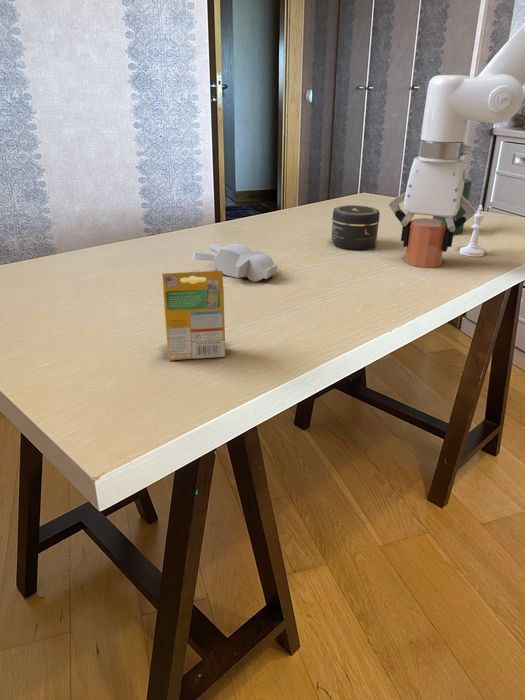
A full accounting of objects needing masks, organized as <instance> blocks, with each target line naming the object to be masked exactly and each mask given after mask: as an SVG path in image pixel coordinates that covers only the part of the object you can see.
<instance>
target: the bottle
mask: <svg viewBox="0 0 525 700" xmlns="http://www.w3.org/2000/svg"><path fill="white" fill-rule="evenodd" d="M465 164H466V161H465ZM472 183H473V180H471V179H470V178H465V180H464V188H463V196H464V198H465V199H466V200H467V201H468V202H469V199H470V194H471V188H472V185H473V184H472ZM465 213H466V211H465V210H464V209H463V208H462V207H460V210H459V211H458V213H457V214H456V215H455V216H454V217H455V220H457V219H458V218H460V217H461V216H463V215H464V214H465ZM432 219H437V220H442V221H445V222H446V219H445V217H440V216H432ZM464 227H465V223H464V224H463V225H461V226H460V227H458V228H457V229H456V230H455V231H454V235H453V236H458V235H459V236H460V235H462V234H463V231H464ZM447 228H448V226H447Z"/></svg>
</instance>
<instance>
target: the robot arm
mask: <svg viewBox="0 0 525 700" xmlns="http://www.w3.org/2000/svg"><path fill="white" fill-rule="evenodd" d="M524 85H525V22H523V23H522V25H520V27H519V28H518V29H517V30H516V31H515V32H514V33H513V35H512V36H511V37H510V38H509V39H508V40H507V41H506V43H504V45H503V46H502V47H501V48H500V49H499V50H498V52H496V54H495V55H494V56H493V57H492V58H491V59H490V61H489V62H488V63H487V64H486V66H484V68H483V69H482V71H481V72H480V73H479V74H478V75H477V76H472V77H471V76H469V75H464V74H462V75H461V74H438V75H434V76H432V77H431V79H430V80H429V82H428V85H427V89H426V90H427V91H426V96H425V97H426V98H425V105H424V112H423V119H422V126H421V133H420V140H419V148H418V155H417V156H415V157H414V159H413V161H412V165H411V168H410V171H409V175H408V179H407V184H406V189H405V191H404V192H403V193H401V194H399V195H398V196H397V197H396V198H394V199H393V200H391V201H390V202H389V203H388V207H389V208H390V210H391V211H392V212H393V214H394V216H395V218H396V219H397V220H398V221H399V223H400V225H401V226H402V229H401V235H400V241H401V242H403V243H402V247H403V248H407V243H408V236H409V229H410V224H411V220H413V219H414V216H415V215H422V216H430V217H431V216H432V217H433V216H440V217H445V219H446V223H447V226H448V228H447V230H446V231H445V236H444V242H443V248H442V251H443V253H446V252H447V250H448V248H452V246H453V240H454V236H455V235H454V231H455V230H456V229H457V228H458V227H460V226H461V225H463V224H464V225H465V223H466V222H467V221H469V220H470V219H471V218H473V217H474V215H475V214H477V210H476V208H474V206H473V205H472V204H471V203H470V202H469V200H468V201H467V200H466V199H465V198H464V196H463V188H464V180H465V179H466V163H465V162H466V160H464V159H462V157H463V156H466V155H471V153H472V146H471V145H470V146H469V145H466V143H465V138H466V131H467V127H468V121H476V122H481V123H482V122H483V123H488V124H500V123H503V122H506V121H509V120H510V119H511V118H513V117H514V116H515V115H516V114H517V113H518V112H519V110H520V109H521V107H522V105H523V102H524V97H525V93H524V88H523V86H524ZM402 202H403V210H404V211H405V212H407V213H405V212H404V211H403V210H402V208H401V207H400V204H401V203H402ZM460 207H462V208H463V209H464V210H465V211H466V213H465V214H464V215H463V216H461V217H460V218H458V219H457V220H455V217H454V216H455V215H456V214H457V213H458V211H459V210H460Z"/></svg>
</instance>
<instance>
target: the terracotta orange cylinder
mask: <svg viewBox="0 0 525 700" xmlns="http://www.w3.org/2000/svg"><path fill="white" fill-rule="evenodd" d="M410 221H411V224H410V229H409V236H408V243H407V246H406V251H405V257H404V262H405V263H406V264H407V265H410V266H413V267H416V268H423V269H424V268H425V269H430V268H431V269H433V268H434V269H435V268H438V267H441V265H442V261H443V260H442V259H443V255H444V252H443V251H442V248H443V242H444V236H445V231H446V230H447V223H446V222H445V221H442V220H437V219H433V218H429V217H420V218H412V219H411V220H410Z"/></svg>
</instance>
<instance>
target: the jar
mask: <svg viewBox="0 0 525 700" xmlns="http://www.w3.org/2000/svg"><path fill="white" fill-rule="evenodd" d="M380 214H381V212H380V210H379V209H377V208H375V207H372V206H366V205H355V204H354V205H353V204H352V205H351V204H350V205H340V206H337V207H334V208H333V211H332V216H331V217H332V218H331V220H332V224H331V240H332V243H333V246H335V247H337V248H338V249H342V250H348V251H366V250H369V249H371V248H373V247H374V246H375V244H376V242H377V239H378V233H379V231H378V230H379V223H380V217H381V215H380Z"/></svg>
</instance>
